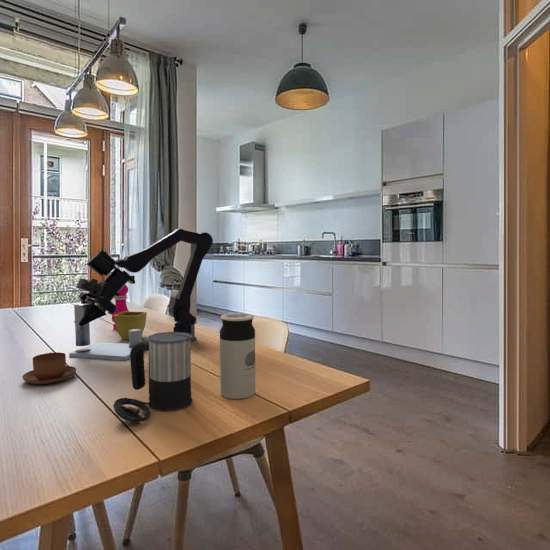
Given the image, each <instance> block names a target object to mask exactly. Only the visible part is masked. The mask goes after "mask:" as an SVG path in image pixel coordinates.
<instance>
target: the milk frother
mask: <svg viewBox="0 0 550 550" xmlns="http://www.w3.org/2000/svg"><path fill="white" fill-rule="evenodd" d="M191 337H192V335H191V334H189V333H183V332H174V331H165V332H164V331H163V332H157V333H154V334H150V335H148V336H147V338H146V339H144V340H143V339H142V341H140V342H138V343H137V344H135V345H134V346H133V347H132V349H131V352H130V359H129V360H130V361H129V362H130V370H131V384H132V387H133V388H132V389H134V390H136V391H138V390H141V389H143V388H144V387H145V385H146V374H145V373H146V370H145V355H144V354H145V351H144V350H146V351H147V352H148V401H149V402H145V401H141V400H139V399H135V398H129V397H121V398H118V399H116V400H115V401H114V403H113V410H114V412H115V414H116V415H117V416H118V417H120V418H121V419H122V420H124V421H128V422H130V423H131V424H132V423H141V422H144V421H146V420H149V418H150V417H151V414H152V411H151V410H154V411H158V412H173V411H174V412H175V411H178V410H179V411H180V410H182V409H186V408H188V407H189V406H191V405H192V403H193V398H192V383H191V382H192V381H191V380H192V379H191V378H192V377H191V376H192V374H191V373H192V372H191V371H192V366H191V365H192V363H191V360H192V357H191V352H192V351H191V350H192V345H191V342H192V341H191ZM127 405H130V406H127ZM132 406H134V407H132ZM135 407H137V408H135ZM150 409H151V410H150ZM141 410H142V411H143V414H142V413H141V412H140V411H141Z"/></svg>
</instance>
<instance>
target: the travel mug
mask: <svg viewBox="0 0 550 550" xmlns="http://www.w3.org/2000/svg"><path fill="white" fill-rule="evenodd" d="M254 317H255V316H254V315H253V314H251V313H245V312H243V313H242V312H241V313H240V312H238V313H236V312H235V313H234V312H233V313H225V314H222V315H221V316H220V319H221V321H222V325H221V326H220V327H221V328H220V329H219V363H220V365H219V366H220V367H219V368H220V369H219V371H220V372H219V376H220V379H219V381H220V395H221V396H222V397H225V399H229V398H230V399H229V400H243V398H244V399H248V398H250V397H252V396H253V395H255V394H256V391H257V390H256V329H255V327H254V325H253V320H254Z"/></svg>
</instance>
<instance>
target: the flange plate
mask: <svg viewBox="0 0 550 550" xmlns="http://www.w3.org/2000/svg"><path fill="white" fill-rule="evenodd" d="M140 341H143V332H142V330H141V329H133V330H129V339H128V343H121V342H119V343H118V342H100V341H99V342H98V341H97V342H95V343H92V344H90V345H87V346H83V347H82V348H79V349H76V350H74V351H71V352H69V355H68V356H69V357H70V358H81V359H82V358H83V359H96V360H111V361H112V360H114V361H127V360H130V352H131V349H132V347H133V346H134V345H135V344H137V343H138V342H140ZM145 351H147V350H144V352H145Z"/></svg>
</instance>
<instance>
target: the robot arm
mask: <svg viewBox="0 0 550 550" xmlns="http://www.w3.org/2000/svg"><path fill="white" fill-rule="evenodd" d="M179 242H183V243H186V244H190V257H189V260H188V263H187V265H186V267H185V268H186V269H185V271H184V274H183V277H182V281H181V284H180V285H179V286H180V287H179V290H178V292H177V294H176V295H175V296H172V295H171V296H170V298H169V303H168V305H167V308H168V309H167V313H168V314H169V316H170V317H171V318H173V320H174V322H175V323H174V327H173V329H172V330H173V332H183V333H189V334H191V335H192V337H191V342H193V341H195V340H196V339H197V338H198V337H197V336H196V334H195V332H196V331H195V330H196V329H195V324H196V321H197V318H196V317H195V316H194V315H193V314H192V313H190V312H191V311H190V310H191V306H192V305H191V304H192V303H191V298H192V297H191V296H192V293H193V291H194V290H193V289H194V287H195V284H196V281H197V277H198V274H199V272H200V269H201V265H202V264H203V263H202V262H203V260H204V258H205V257H206V256H207V254H208V253H209V251H210V249H211V247H212V245H213V242H214V239H213V237H212V235H211V234H210V233H209V232H195V231H190V230H189V231H188V230H185V229H183V228H177V229H174V230H173V231H172V232H170V233H168V234H167V235H166V236H164V237H163V238H161V239H159V240H158V241H156V242H154V243H151V245H149V246H147V247H146V248H144V249H141V250H138V251H135V252H132V253H130V254H128V255H126V256H124V258H122V259H116V260H115V259H114V258H113V257H112V256H110V255H109V254H108V252H107V251H105V250H104V249H101V250H100V251H98V252H97V253H96V254H95V255H93V256H92V257H91V258H90V259H89V260H88V261H87V263H86V265H87V266H88V267H89V268H90V269H91V270H93V271H94V272H95V273H96V274H97V275H98V276H99V277H102V276H103V275H104V276H105V277H106V276H107V277H106V278H105V280H103V281H99V280H98V279H95V278H93V277H91V278H90V279H86V278H79V280H78V282H77V285H76V289H78V290H84V292H80V294H79V295H77V299H79V301H80V304H88V305H89V309H88V311H87V312H86V314H85V315H84V316H83V318H82V319H81V321H80V322H79V325H80V326H83V325H85V324H87V323H89V324H90V323H91V322H93V321H96V320H97V319H99V318H102V317H104V316H107V315H108V314H109V315H111V316H112V315H113V314H114V313H115V311H116V305H115V304H114V303H113V302H112V300H114V297H115V296H116V297H118V295H119V293H118V292H119V291H120V290H121V289H122V288H123V287H124V285H127V283H129V284H130V285H133V284H136V280H135V278H136V276H135V275H131V274H129V273H133V274H134V273H139V272H141V271H142V270H143V269H144V268H145V267H147V266H148V264H149V263H150V262H151V261H152V260H153V259H154V258H156V257H157V256H159V255H160V254H162V253H163V252H166V251H167V250H168V249H170V248H171V247H173V246H174V245H176V244H179ZM120 268H121V269H124V270H121V269H120ZM128 272H129V273H128ZM106 312H107V313H106ZM73 323H74V324H75V320H74V321H73Z"/></svg>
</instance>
